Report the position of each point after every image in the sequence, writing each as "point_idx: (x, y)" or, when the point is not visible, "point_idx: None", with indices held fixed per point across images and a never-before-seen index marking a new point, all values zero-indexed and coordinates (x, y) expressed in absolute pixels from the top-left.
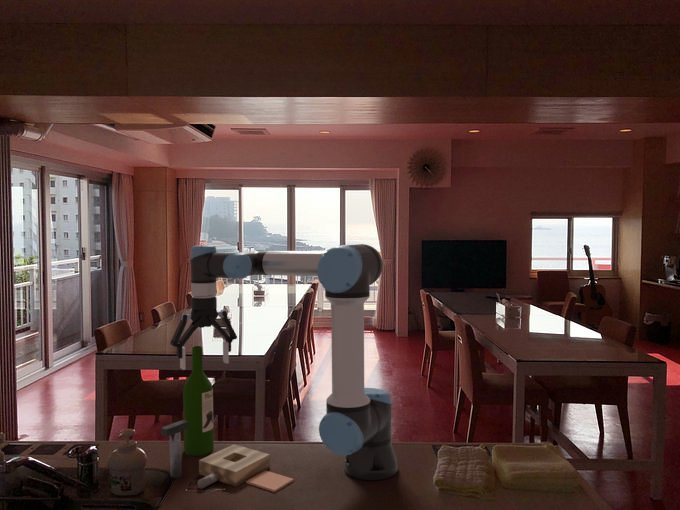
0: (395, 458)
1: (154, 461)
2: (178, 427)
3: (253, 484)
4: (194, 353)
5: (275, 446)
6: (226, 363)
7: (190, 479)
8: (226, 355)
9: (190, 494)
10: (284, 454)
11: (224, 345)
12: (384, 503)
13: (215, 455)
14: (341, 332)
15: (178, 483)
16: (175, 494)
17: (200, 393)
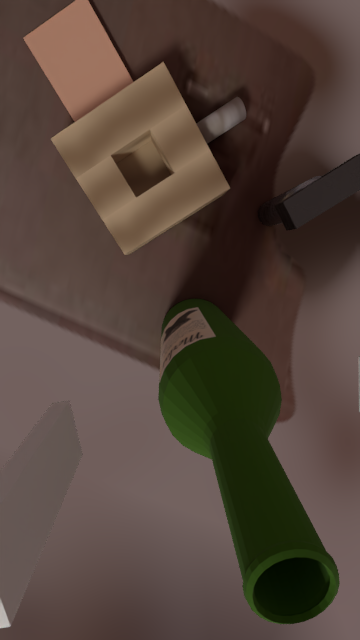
0: None
1: (293, 310)
2: (318, 179)
3: (123, 65)
4: (305, 515)
5: (18, 276)
6: (68, 401)
7: (246, 176)
8: (45, 435)
9: (264, 94)
10: (8, 216)
11: (18, 543)
12: None
13: (185, 200)
14: None
15: (274, 167)
16: (292, 111)
17: (222, 336)
